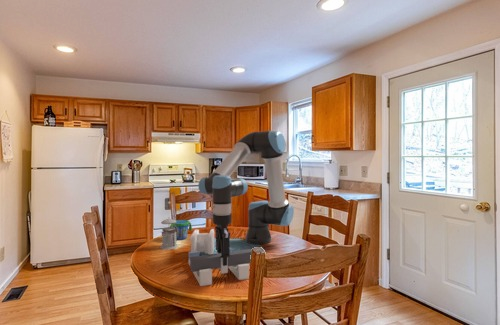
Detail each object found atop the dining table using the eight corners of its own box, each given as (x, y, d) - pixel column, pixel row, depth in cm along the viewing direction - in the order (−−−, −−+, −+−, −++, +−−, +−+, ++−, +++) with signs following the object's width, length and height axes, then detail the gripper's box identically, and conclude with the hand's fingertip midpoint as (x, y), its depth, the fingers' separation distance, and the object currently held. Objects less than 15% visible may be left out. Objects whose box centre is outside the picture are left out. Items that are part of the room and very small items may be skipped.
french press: (171, 243, 171) (170, 199, 171) (184, 247, 164) (183, 201, 163) (156, 247, 163) (155, 201, 163) (168, 251, 156) (168, 203, 156)
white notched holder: (230, 258, 145) (230, 247, 145) (249, 278, 120) (249, 264, 120) (188, 263, 137) (188, 251, 137) (200, 286, 113) (200, 271, 113)
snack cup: (186, 234, 191) (186, 218, 190) (196, 237, 183) (196, 221, 183) (164, 239, 180) (164, 222, 180) (173, 242, 172) (173, 225, 172)
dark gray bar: (251, 259, 128) (250, 248, 128) (254, 262, 125) (254, 251, 124) (190, 268, 119) (190, 257, 119) (192, 272, 115) (191, 260, 115)
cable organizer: (211, 259, 144) (211, 235, 143) (189, 259, 143) (189, 235, 143) (214, 249, 159) (214, 228, 158) (194, 250, 158) (194, 228, 158)
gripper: (208, 210, 128) (208, 265, 128) (218, 218, 112) (219, 280, 112) (225, 209, 130) (225, 262, 131) (237, 216, 115) (238, 277, 115)
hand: (222, 270), depth 122 cm, fingers closed on dark gray bar, 4 cm apart
